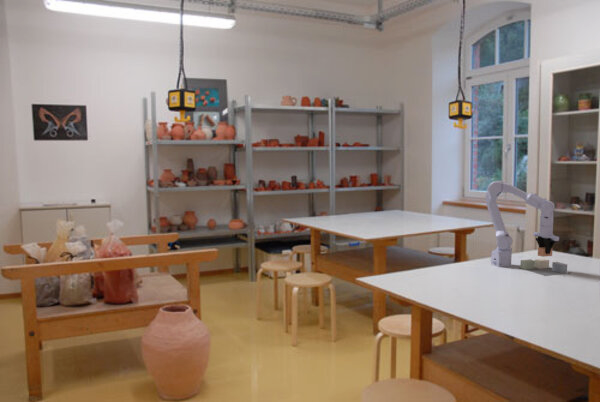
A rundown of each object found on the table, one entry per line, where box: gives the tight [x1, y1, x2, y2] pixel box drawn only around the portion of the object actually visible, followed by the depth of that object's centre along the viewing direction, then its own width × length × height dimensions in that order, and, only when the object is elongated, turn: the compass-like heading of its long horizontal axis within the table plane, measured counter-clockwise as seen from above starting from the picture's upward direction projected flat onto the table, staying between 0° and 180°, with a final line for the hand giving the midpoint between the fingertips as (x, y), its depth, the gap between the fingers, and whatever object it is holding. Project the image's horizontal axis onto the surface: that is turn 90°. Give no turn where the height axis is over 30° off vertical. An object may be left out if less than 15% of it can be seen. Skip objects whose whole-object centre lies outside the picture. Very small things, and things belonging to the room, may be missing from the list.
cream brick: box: [534, 258, 550, 269], centre depth 248 cm, size 6×3×4 cm, turn 108°
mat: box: [519, 267, 571, 277], centre depth 242 cm, size 15×17×1 cm
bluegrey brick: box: [551, 261, 568, 273], centre depth 240 cm, size 6×3×4 cm, turn 18°
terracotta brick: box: [537, 246, 554, 258], centre depth 243 cm, size 6×3×4 cm, turn 108°
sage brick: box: [519, 259, 535, 270], centre depth 247 cm, size 6×3×4 cm, turn 108°
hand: (544, 252), depth 243 cm, fingers closed on terracotta brick, 3 cm apart
